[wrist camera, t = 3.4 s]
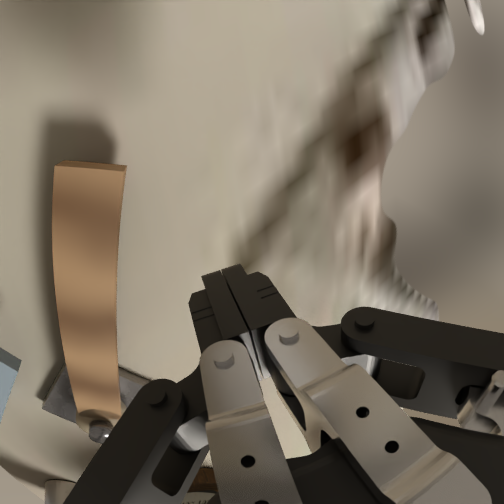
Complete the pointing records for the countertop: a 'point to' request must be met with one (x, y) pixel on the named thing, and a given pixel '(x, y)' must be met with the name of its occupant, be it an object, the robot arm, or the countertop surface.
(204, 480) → the wooden container
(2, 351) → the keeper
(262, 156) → the countertop surface
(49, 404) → the pivot base
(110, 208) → the link
